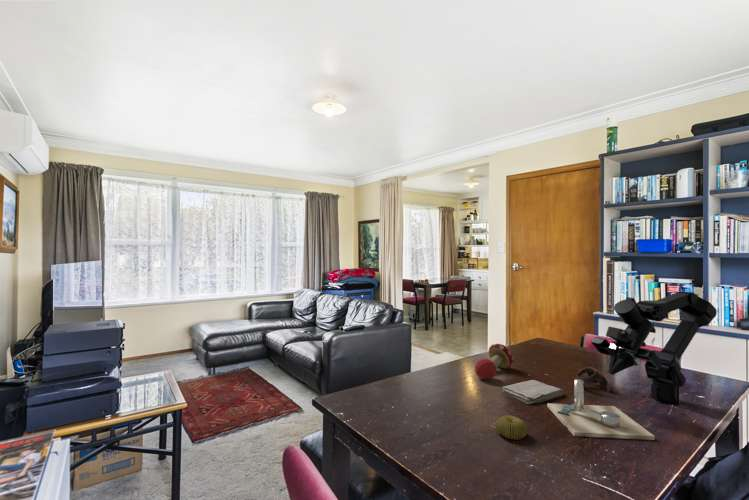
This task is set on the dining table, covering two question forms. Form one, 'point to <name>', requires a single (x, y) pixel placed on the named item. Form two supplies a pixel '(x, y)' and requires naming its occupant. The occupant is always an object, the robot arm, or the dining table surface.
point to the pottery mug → (593, 377)
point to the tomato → (485, 369)
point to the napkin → (598, 423)
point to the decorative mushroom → (501, 356)
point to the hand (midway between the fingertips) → (610, 373)
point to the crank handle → (606, 417)
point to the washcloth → (532, 391)
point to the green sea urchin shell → (511, 427)
